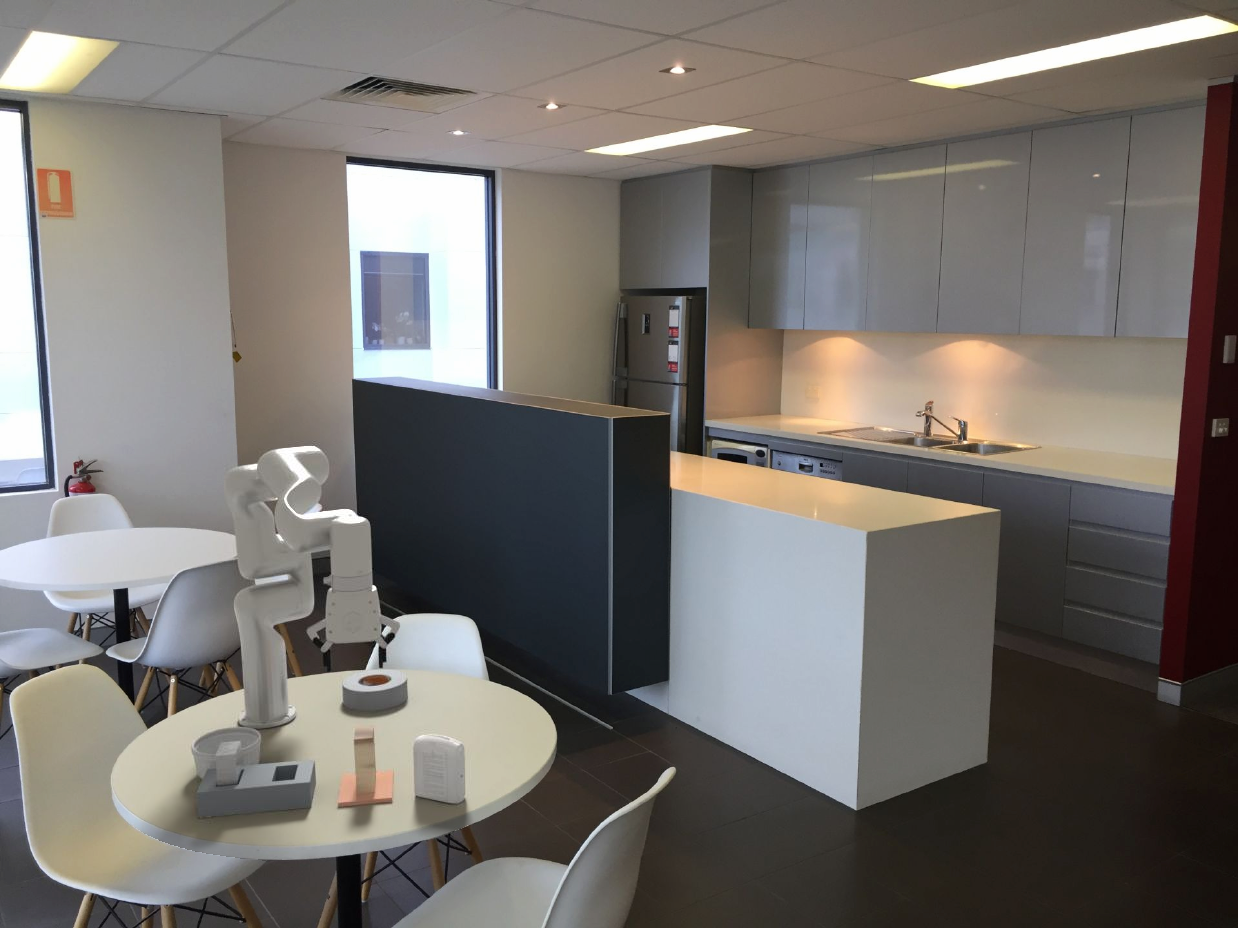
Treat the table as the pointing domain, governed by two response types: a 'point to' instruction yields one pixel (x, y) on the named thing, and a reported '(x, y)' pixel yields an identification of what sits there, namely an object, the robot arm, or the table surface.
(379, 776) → the mat
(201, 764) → the ramekin
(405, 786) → the table surface
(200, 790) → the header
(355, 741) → the beech plug
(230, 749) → the steel plug
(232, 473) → the robot arm
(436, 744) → the photo printer
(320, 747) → the table surface
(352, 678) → the tape roll
